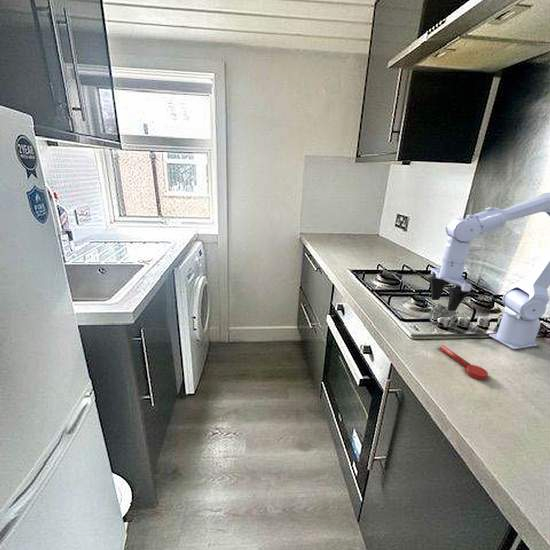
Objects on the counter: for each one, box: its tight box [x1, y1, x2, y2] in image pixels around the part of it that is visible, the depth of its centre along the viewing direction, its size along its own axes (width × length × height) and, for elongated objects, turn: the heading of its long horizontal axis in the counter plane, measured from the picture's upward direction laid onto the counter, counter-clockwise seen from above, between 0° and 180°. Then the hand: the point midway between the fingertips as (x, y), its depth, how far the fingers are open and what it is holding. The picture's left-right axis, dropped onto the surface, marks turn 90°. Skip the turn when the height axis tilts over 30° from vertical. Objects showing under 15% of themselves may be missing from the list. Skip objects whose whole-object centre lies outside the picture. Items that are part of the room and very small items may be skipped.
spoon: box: [439, 344, 489, 381], centre depth 79 cm, size 4×14×1 cm, turn 16°
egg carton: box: [429, 303, 460, 328], centre depth 102 cm, size 11×8×4 cm
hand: (443, 304), depth 90 cm, fingers open, 7 cm apart
